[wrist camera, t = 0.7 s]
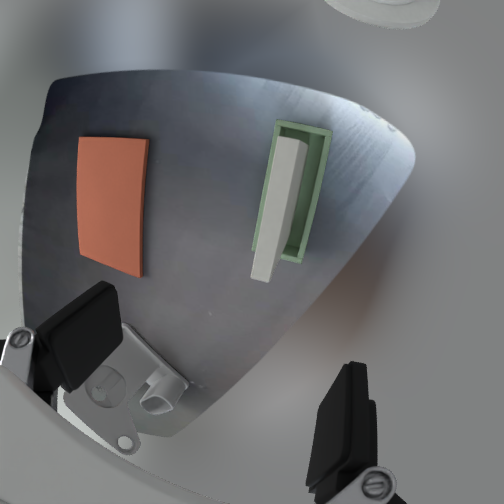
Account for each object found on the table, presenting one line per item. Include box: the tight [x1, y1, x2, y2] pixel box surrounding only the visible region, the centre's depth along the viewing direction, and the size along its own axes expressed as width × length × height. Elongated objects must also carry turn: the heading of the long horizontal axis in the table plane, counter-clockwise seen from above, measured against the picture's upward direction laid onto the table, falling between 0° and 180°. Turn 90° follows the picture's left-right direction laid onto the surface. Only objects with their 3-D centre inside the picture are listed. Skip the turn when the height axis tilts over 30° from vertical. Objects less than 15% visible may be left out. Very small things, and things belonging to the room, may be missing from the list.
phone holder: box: [63, 323, 189, 455], centre depth 39 cm, size 17×10×18 cm, turn 46°
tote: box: [252, 119, 333, 264], centre depth 27 cm, size 14×5×4 cm, turn 171°
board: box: [251, 136, 310, 283], centre depth 23 cm, size 10×1×12 cm, turn 171°
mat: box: [77, 137, 149, 278], centre depth 36 cm, size 20×14×1 cm
